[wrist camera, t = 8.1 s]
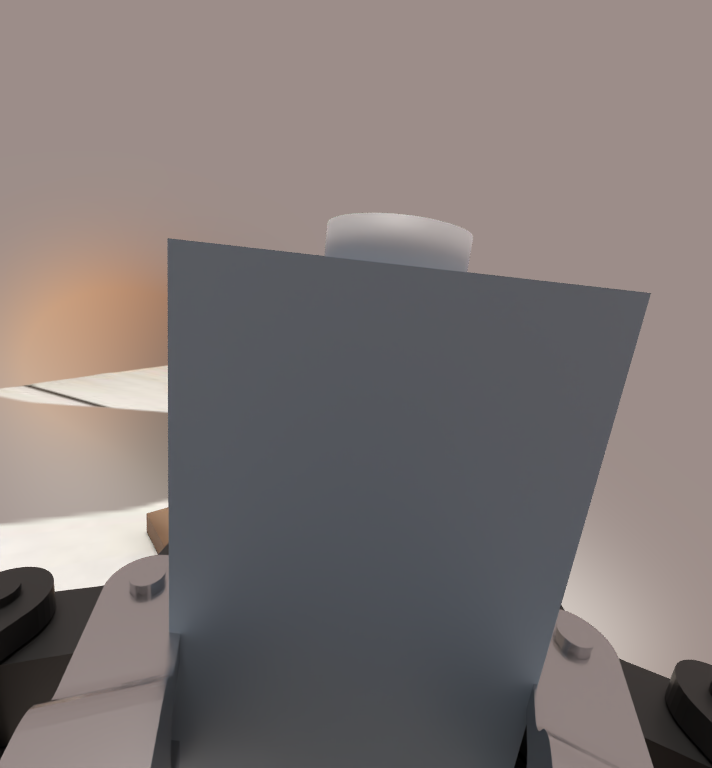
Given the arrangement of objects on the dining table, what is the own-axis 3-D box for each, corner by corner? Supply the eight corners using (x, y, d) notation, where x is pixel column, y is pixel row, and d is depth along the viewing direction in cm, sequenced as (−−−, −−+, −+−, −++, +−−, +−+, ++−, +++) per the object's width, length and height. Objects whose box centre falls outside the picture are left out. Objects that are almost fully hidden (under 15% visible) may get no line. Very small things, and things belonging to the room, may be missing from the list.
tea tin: (170, 1013, 7) (167, 152, 3) (256, 715, 12) (287, 243, 8) (438, 1058, 7) (690, 209, 3) (410, 738, 11) (503, 267, 8)
